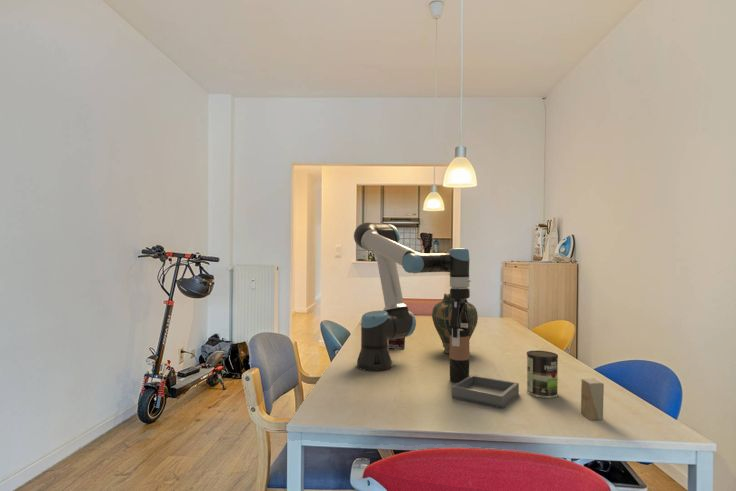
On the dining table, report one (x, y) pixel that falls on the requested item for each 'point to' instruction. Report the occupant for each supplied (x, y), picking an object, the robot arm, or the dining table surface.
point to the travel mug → (459, 356)
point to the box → (592, 399)
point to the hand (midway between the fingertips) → (460, 342)
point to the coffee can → (542, 374)
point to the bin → (485, 391)
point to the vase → (443, 319)
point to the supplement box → (397, 343)
